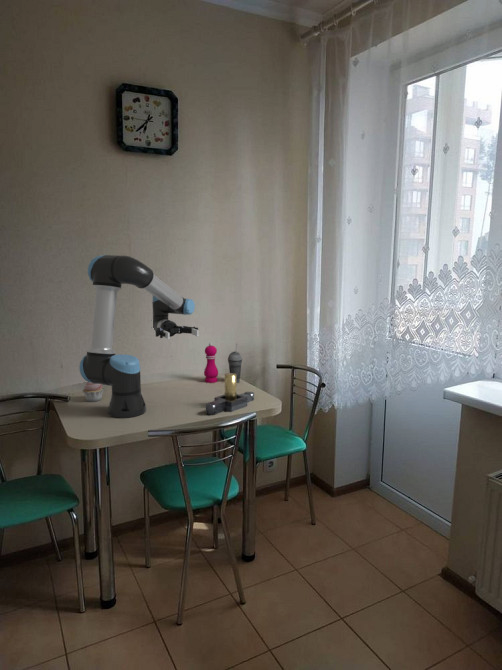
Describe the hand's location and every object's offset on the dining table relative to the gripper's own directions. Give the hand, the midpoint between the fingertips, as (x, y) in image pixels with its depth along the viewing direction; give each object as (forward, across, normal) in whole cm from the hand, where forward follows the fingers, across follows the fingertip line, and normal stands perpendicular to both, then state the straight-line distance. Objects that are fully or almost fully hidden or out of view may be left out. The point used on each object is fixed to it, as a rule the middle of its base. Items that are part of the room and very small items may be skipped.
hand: (183, 334), depth 214 cm
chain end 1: (+20, -9, -29) cm, 37 cm away
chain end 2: (+17, -18, -29) cm, 38 cm away
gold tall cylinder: (+19, -14, -29) cm, 37 cm away
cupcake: (-19, +36, -30) cm, 50 cm away
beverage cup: (-14, -32, -29) cm, 46 cm away
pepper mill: (-21, -22, -29) cm, 42 cm away
